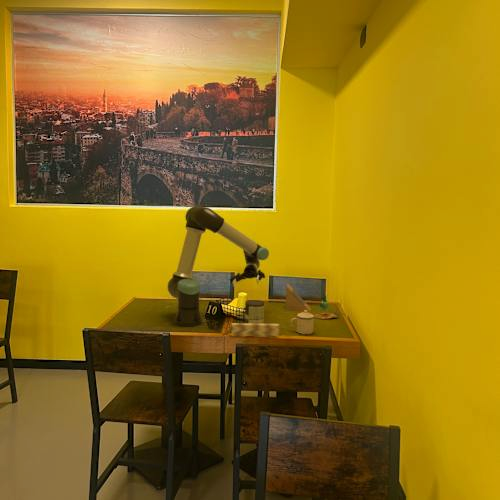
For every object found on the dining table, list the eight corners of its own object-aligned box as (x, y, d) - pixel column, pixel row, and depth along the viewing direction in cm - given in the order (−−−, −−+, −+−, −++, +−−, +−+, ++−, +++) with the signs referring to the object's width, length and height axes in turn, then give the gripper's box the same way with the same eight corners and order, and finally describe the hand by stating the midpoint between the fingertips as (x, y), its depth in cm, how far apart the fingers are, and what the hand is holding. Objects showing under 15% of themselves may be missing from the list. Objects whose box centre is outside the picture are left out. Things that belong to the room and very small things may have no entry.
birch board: (231, 336, 237) (231, 324, 236) (231, 334, 240) (231, 323, 239) (278, 337, 238) (279, 325, 237) (278, 335, 241) (278, 323, 240)
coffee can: (240, 327, 252) (241, 302, 250) (252, 323, 260) (253, 299, 258) (255, 332, 245) (256, 305, 243) (267, 327, 253) (268, 302, 251)
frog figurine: (341, 321, 269) (339, 296, 267) (309, 322, 273) (307, 297, 271) (341, 316, 278) (340, 292, 276) (311, 317, 282) (309, 293, 280)
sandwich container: (310, 311, 289) (311, 287, 287) (285, 309, 292) (286, 286, 290) (310, 307, 297) (311, 284, 295) (286, 306, 300) (287, 283, 298)
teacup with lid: (313, 330, 251) (314, 308, 249) (313, 335, 242) (314, 313, 240) (290, 328, 252) (291, 307, 251) (290, 333, 243) (291, 312, 242)
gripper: (272, 273, 278) (268, 286, 258) (231, 279, 283) (225, 292, 262) (269, 261, 276) (266, 273, 256) (229, 268, 281) (222, 280, 260)
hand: (245, 283), depth 259 cm, fingers open, 13 cm apart
